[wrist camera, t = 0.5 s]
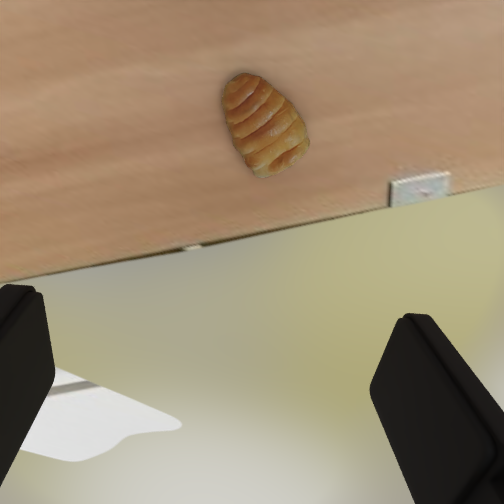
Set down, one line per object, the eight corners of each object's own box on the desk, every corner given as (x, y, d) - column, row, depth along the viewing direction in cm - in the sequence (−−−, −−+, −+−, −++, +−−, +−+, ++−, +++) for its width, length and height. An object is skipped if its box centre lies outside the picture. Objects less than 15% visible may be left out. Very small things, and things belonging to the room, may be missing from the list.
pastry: (203, 100, 34) (201, 105, 31) (263, 54, 33) (267, 54, 30) (258, 179, 38) (262, 191, 35) (314, 141, 37) (323, 150, 34)
